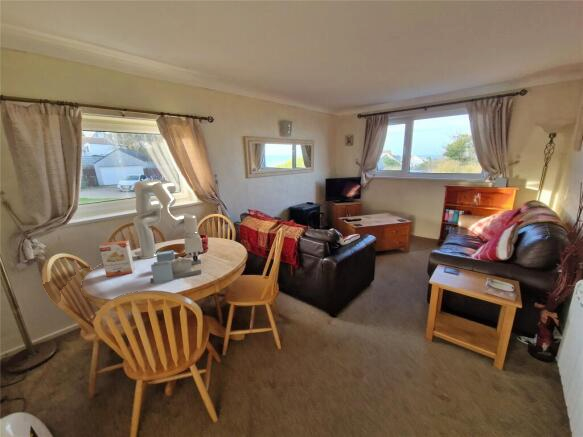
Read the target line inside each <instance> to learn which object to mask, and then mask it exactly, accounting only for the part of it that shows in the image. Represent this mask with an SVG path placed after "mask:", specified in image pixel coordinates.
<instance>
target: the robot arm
mask: <svg viewBox="0 0 583 437" xmlns="http://www.w3.org/2000/svg"><path fill="white" fill-rule="evenodd" d="M176 190H177V187H176V185H175V184H174V182H172V181H170V180H164V179H152V180H142V181H137V182H135V183H134V185H133V191H134V194H135V211H136V213H137V214H138V215H136V216H135V217H134V218H133V220H132V223H133V225H134V227H135V228H134V229H135V230H136V234H137V238H138V243H139V247H140V248H139V249H140V250H139V251H134V255H136V256H138V255H139V258H140V259H143V260H145V259H153V258H155V257H157V256H156V255H155V252H156V251H157V249H156V244H155V239H154V238H155V237H154V233H153V231H152V229H151V228H149V227H151V226H155V225H159V223H160V222H161V218H163V220H164V221H165V222H166V224H167V225H168V226H169V227H170V228H172V229H176V228H180V227H184V233H183V234H182V236H183V237H184V250H185V253H184V254H186V255H190V256H191V257H192V261H193V260H194V262H197V260H199V257H198V256H199V254H201V253H200V252H203V248H202V242H201V239H202V238H200V235H201V234H199V228H198V221H197V216H196V215H195V214H190V213H188V212H187V213H185V212H184V213H179V214H176V215H172V214H171V212H170V208H171V207H173V205H175V203H176V202H177V201H176V198H175V197H174V195H173V194H175V193H176ZM151 194H154V196H155V198H156V199H155V198H153V199H152V198H151ZM157 199H158V200H157ZM161 216H162V217H161ZM194 252H196V253H194Z"/></svg>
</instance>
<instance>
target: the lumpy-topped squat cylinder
mask: <svg viewBox="0 0 583 437" xmlns="http://www.w3.org/2000/svg"><path fill="white" fill-rule="evenodd" d="M191 261H192V259H191V258H189V257H188V258H187V257H181V256H178V257H176V258H175V259H174V260H171V261H169V262H171V267H172V273H173V274H177V273H183V272H188V271H193V265H192V264H191Z"/></svg>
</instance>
